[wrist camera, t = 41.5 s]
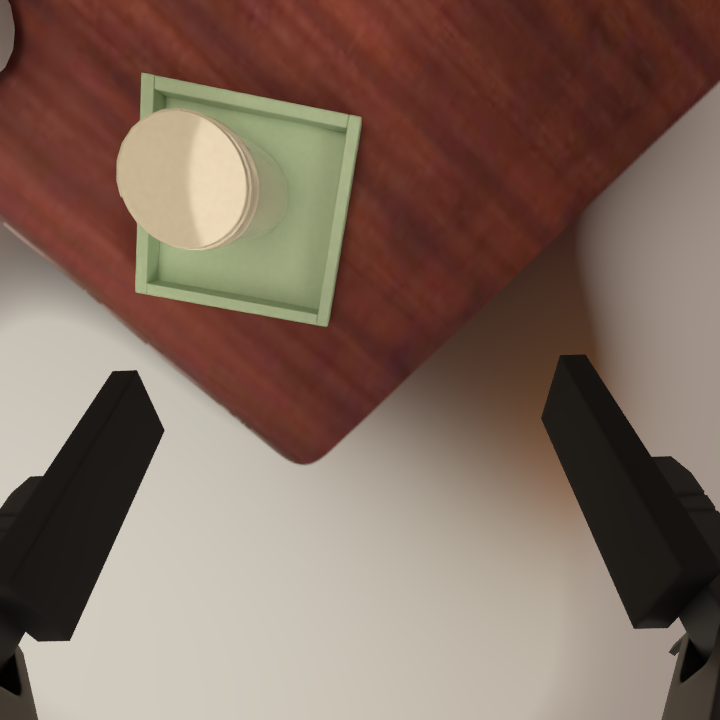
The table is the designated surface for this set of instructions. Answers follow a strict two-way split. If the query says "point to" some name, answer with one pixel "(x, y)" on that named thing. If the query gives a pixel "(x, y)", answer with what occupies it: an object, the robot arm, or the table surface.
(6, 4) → the can
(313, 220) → the tray
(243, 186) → the jar
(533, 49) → the table surface
